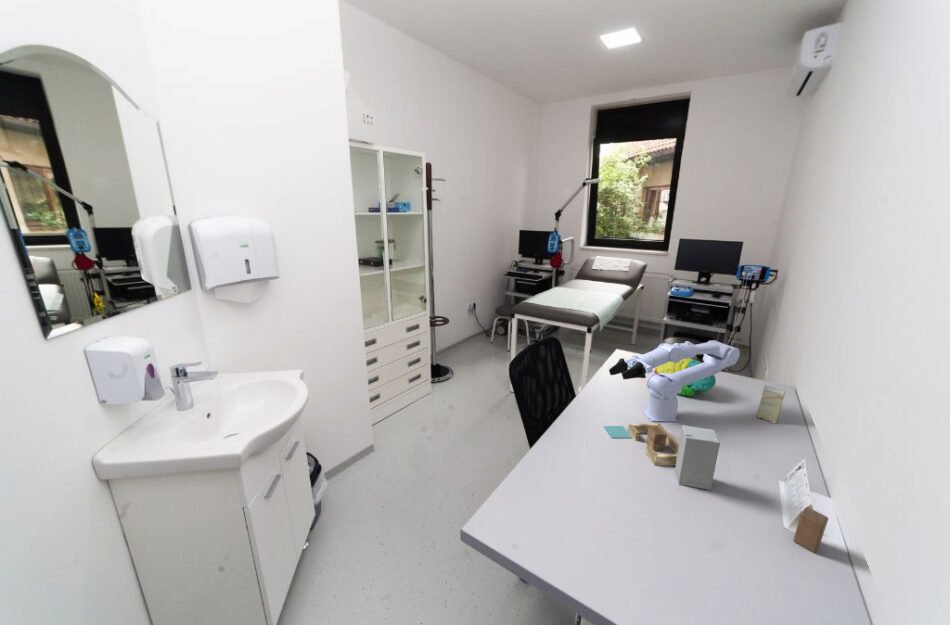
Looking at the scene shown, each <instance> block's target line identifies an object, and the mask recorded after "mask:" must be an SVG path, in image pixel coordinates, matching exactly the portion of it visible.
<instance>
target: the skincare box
mask: <svg viewBox="0 0 950 625" xmlns="http://www.w3.org/2000/svg"><path fill="white" fill-rule="evenodd" d="M678 443H679V448H678V454H677V461H676V465H675V468H674V472H675V474H676V475H675V476H676V479H677V483H678V485H682V486H687V487H693V488H699V489H704V490H707V491H711V489H712V486H713V480H714V475H715V470H716V467H717V461H718V455H719V450H720V446H721V442H720V440H719V437H718V436H717V433H716V432H715V430H714V429H711V428H703V427H698V426H697V427H696V426H690V425H684V424H682V426H681V432H680V436H679V442H678Z"/></svg>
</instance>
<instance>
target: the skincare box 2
mask: <svg viewBox="0 0 950 625" xmlns="http://www.w3.org/2000/svg"><path fill="white" fill-rule="evenodd" d="M785 394H786V390H785V389H781V388H776V387H774V386H768V385H764V386H763V390H762V394H761V398H760V401H759V405H758V409H757V413H756V416H757V417H760V418H763V419H766V420H765V421H767V420H769V421H768V422H770V421H772V422H771V423H773V422H775V423H774V424H777V421H778V420H779V415H780V411H781V408H782V405H783V401H784V398H785ZM757 417H756V418H757ZM760 418H759V419H760ZM763 419H762V420H763Z"/></svg>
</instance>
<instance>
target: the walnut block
mask: <svg viewBox="0 0 950 625" xmlns="http://www.w3.org/2000/svg"><path fill="white" fill-rule="evenodd" d="M666 439H667V434H666V433H665V432H664V431H663V430H662V429H661V427H651V428H648V433H647V435H646V442H645V443H646V446H651V447H652V448H653V450H654V451H655V452H664V451H665V450H666V449H665V448H666V444H667V443H666Z"/></svg>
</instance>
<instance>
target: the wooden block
mask: <svg viewBox="0 0 950 625" xmlns="http://www.w3.org/2000/svg"><path fill="white" fill-rule="evenodd" d="M828 521H829V517H828V516H826V515H824V514H822V513H820V512H819V511H816V510H814V509H812V508H810V507H808V506H805V507H804V509H803V511H802V512H801V513H800V516H799V520H798V523H797V526H796V529H795V533H794V536H793V542H794V543H796V544H798V545H799V546H800V547H803V548H804V549H806V550H808V551H810V552H811V553H813V554H814V553H816V552H817V551H818V549H819V547H820V545H821V542H822V540H823V537H824V534H825V530H826V527H827V525H828V523H829V522H828Z"/></svg>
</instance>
